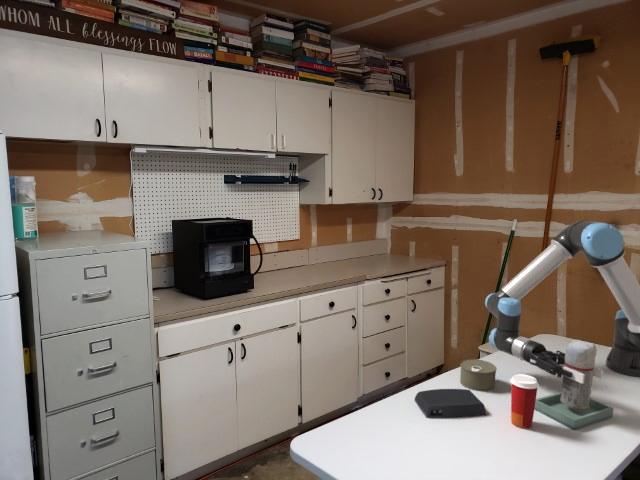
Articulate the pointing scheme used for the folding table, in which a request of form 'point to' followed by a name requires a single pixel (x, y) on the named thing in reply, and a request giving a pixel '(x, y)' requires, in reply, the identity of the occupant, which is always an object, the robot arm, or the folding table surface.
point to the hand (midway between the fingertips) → (592, 376)
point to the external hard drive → (449, 403)
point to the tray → (573, 411)
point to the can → (478, 375)
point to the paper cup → (523, 400)
